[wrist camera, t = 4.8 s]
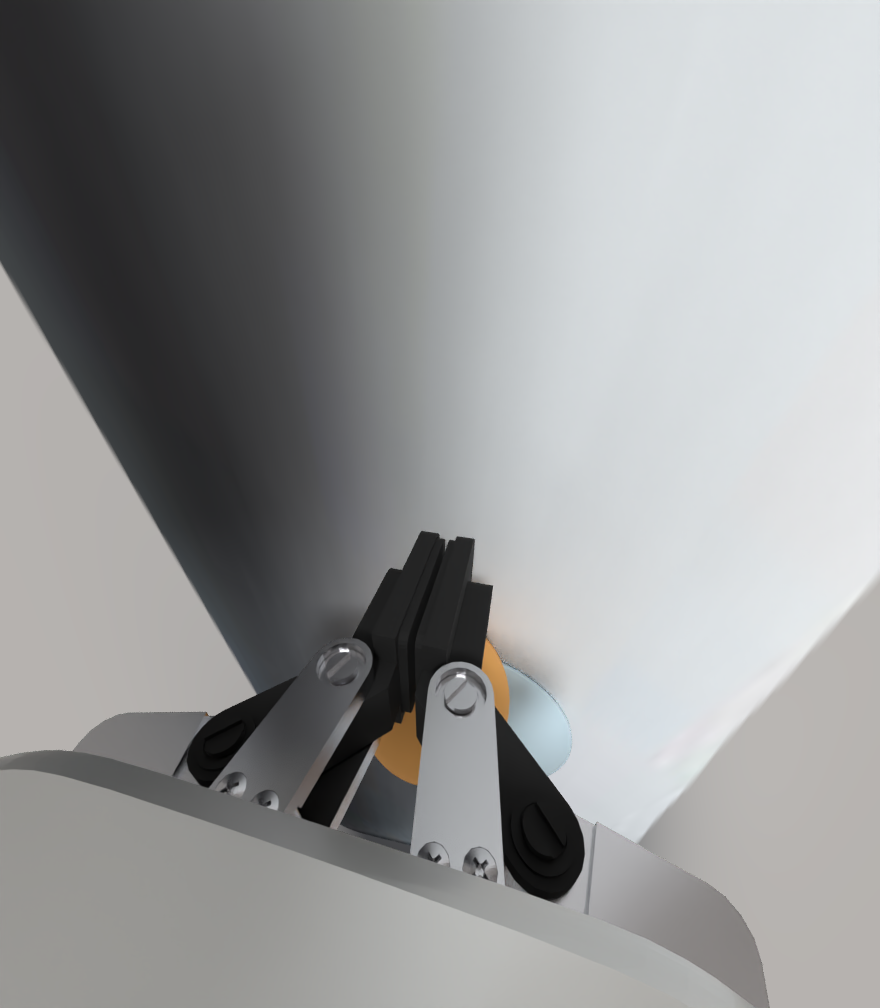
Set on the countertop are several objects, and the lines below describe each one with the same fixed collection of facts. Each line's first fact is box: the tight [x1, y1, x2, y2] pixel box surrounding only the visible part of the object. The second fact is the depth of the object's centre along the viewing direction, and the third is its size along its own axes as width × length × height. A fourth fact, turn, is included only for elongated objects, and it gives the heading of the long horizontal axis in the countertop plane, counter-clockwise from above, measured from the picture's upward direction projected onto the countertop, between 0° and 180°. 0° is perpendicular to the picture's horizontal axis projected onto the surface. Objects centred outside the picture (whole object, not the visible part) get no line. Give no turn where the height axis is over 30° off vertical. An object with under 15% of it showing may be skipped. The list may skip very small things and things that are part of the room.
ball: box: [374, 639, 510, 785], centre depth 13 cm, size 6×6×6 cm
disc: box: [502, 662, 572, 776], centre depth 19 cm, size 13×13×1 cm
